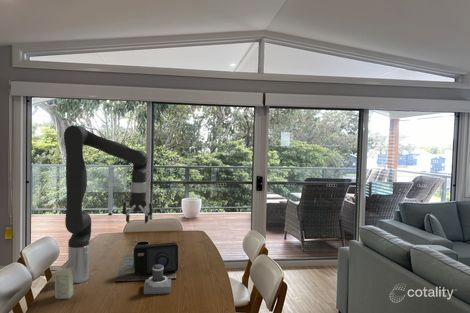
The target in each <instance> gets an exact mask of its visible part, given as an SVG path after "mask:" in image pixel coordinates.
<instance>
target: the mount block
mask: <svg viewBox="0 0 470 313" xmlns="http://www.w3.org/2000/svg"><path fill="white" fill-rule="evenodd" d="M152 278H153V275H152V276H150V277H148V279H145V281H144V285H143V295H152V294H153V295H156V294H159V295H161V294H171V290H172V278H168V277H167V276H166V275H163V281H161V282H154V281H152Z"/></svg>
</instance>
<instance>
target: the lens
mask: <svg viewBox="0 0 470 313" xmlns="http://www.w3.org/2000/svg"><path fill="white" fill-rule="evenodd" d="M163 269H164V267H163V265H160V264H157V265H154V266H153V274H152V276H153V278H152V281H154V282H161V281H163V276H164V273H163Z"/></svg>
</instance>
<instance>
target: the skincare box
mask: <svg viewBox="0 0 470 313" xmlns="http://www.w3.org/2000/svg"><path fill="white" fill-rule="evenodd" d="M54 294H55V295H54V298H55V299H58V300H60V299H61V300H63V299H71V298H72V296H73V295H74V283H73V268H67V267H58V268H57V269H56V270H54Z"/></svg>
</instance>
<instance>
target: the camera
mask: <svg viewBox="0 0 470 313" xmlns="http://www.w3.org/2000/svg"><path fill="white" fill-rule="evenodd" d="M133 252H134V254H133V256H134V257H133V258H134V275H135V276H143V275H153V266H154V265H157V264H160V265H163V267H164V269H163V274H164V273H173V272H177V271H178V270H179V245H178V243H177V242H175V241H173V242H163V243H162V242H161V243H150V244H139V245H135V246H134V249H133Z"/></svg>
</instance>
